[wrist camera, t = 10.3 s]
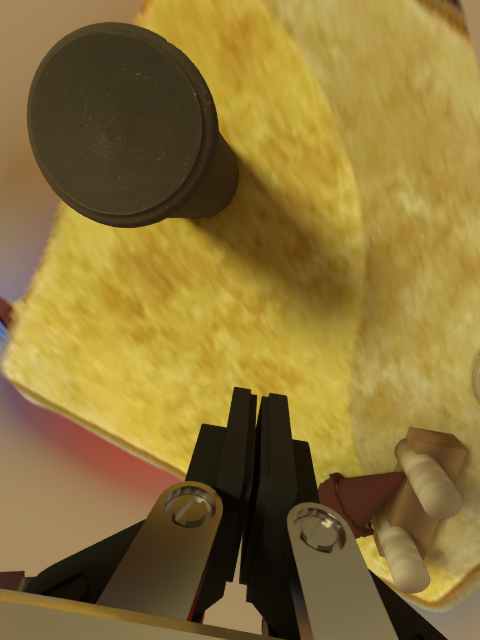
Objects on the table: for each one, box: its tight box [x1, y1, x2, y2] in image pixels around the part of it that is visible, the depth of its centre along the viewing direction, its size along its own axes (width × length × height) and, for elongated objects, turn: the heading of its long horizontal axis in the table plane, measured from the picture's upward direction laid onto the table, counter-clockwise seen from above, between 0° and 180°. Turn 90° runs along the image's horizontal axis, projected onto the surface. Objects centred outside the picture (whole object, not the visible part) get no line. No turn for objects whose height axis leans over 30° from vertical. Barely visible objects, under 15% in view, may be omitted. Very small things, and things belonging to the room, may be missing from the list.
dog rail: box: [372, 427, 468, 594], centre depth 39 cm, size 6×16×8 cm, turn 171°
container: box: [27, 22, 238, 228], centre depth 25 cm, size 9×9×20 cm
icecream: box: [318, 471, 406, 539], centre depth 41 cm, size 7×7×15 cm
